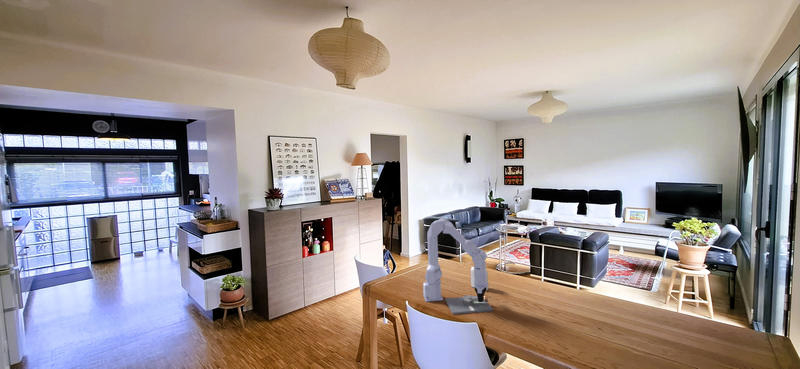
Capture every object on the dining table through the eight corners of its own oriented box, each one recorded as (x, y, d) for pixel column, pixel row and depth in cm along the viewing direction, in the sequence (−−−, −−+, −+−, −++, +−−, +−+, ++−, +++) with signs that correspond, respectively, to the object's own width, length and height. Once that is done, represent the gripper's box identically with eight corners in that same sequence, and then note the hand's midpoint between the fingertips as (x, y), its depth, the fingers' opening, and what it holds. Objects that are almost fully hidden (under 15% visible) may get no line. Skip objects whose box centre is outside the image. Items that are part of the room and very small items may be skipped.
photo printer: (470, 286, 184) (469, 266, 184) (474, 284, 187) (473, 264, 186) (484, 291, 176) (484, 270, 176) (489, 289, 179) (488, 268, 178)
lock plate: (452, 314, 152) (452, 310, 152) (445, 300, 168) (445, 296, 168) (493, 310, 154) (493, 306, 154) (481, 297, 170) (481, 293, 170)
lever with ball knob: (463, 303, 158) (463, 298, 158) (462, 298, 163) (462, 294, 163) (489, 303, 157) (489, 298, 157) (487, 298, 162) (487, 294, 162)
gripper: (488, 281, 150) (488, 308, 150) (488, 270, 163) (489, 296, 164) (472, 280, 152) (473, 307, 153) (474, 270, 166) (475, 295, 166)
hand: (480, 301), depth 159 cm, fingers closed, pressing on lever with ball knob
